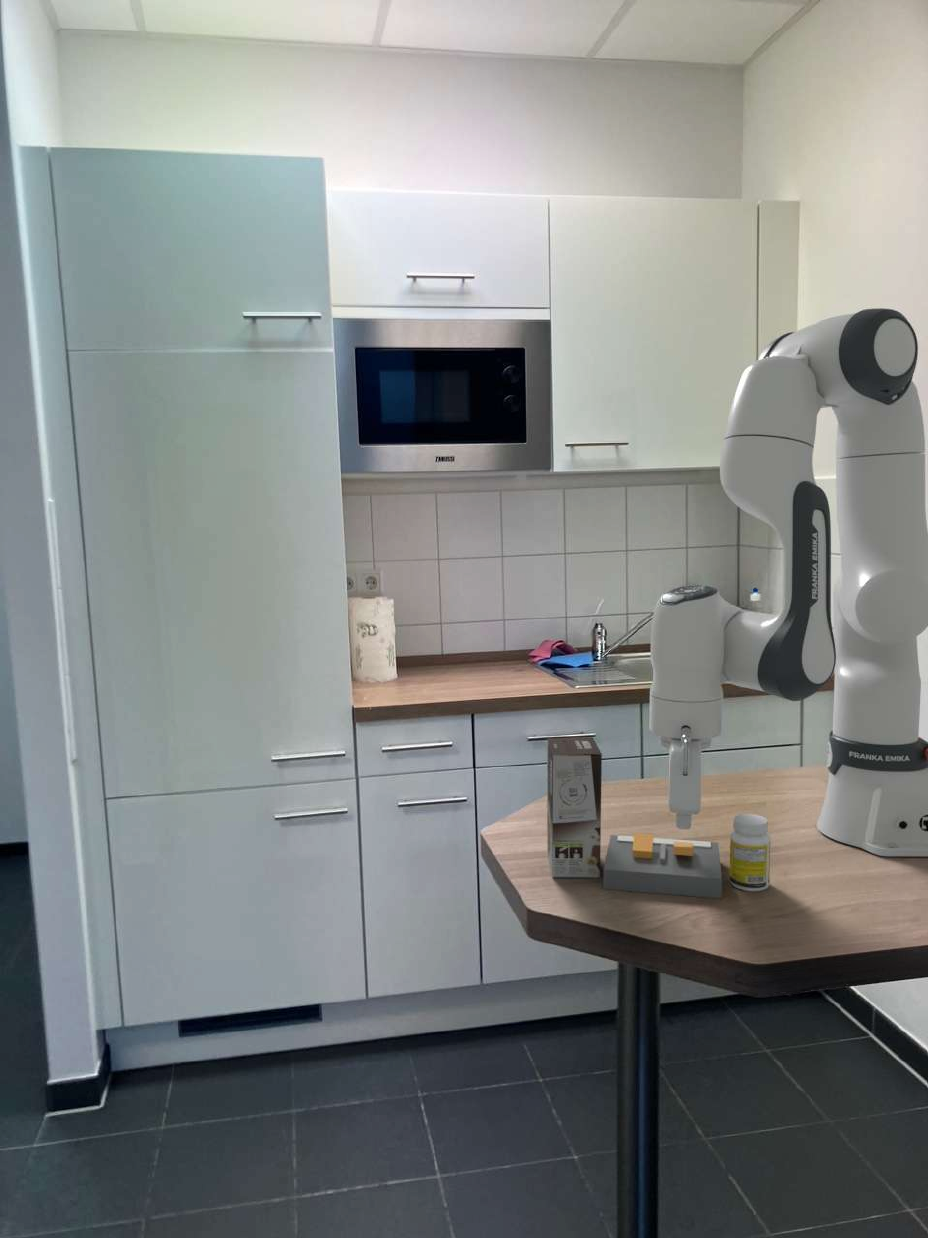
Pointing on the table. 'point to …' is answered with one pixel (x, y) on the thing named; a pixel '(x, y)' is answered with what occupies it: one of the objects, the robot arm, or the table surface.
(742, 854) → the supplement bottle
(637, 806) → the table surface
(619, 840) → the switch strip
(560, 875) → the coffee box
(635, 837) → the paddle
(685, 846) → the orange rectangular block
